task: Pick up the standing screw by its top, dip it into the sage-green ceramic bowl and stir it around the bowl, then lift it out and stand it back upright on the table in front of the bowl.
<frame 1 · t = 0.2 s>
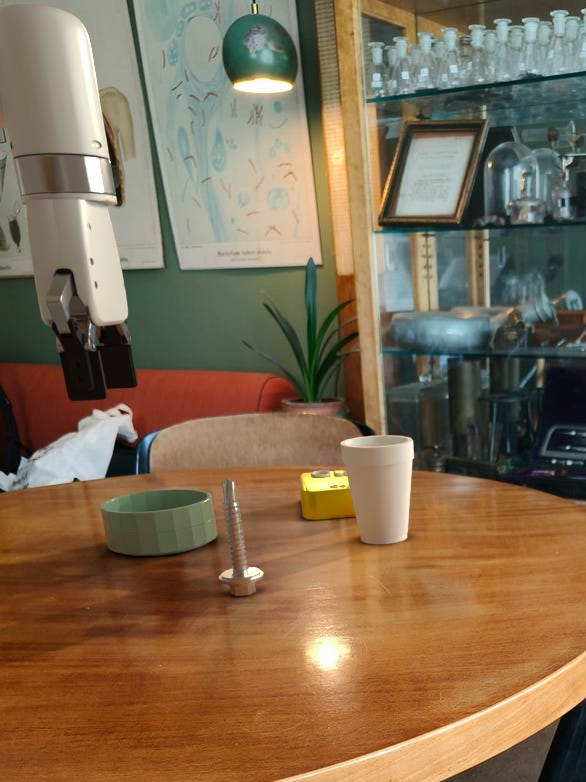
hand: (106, 393, 81), 23 cm above the table, tool pointing down, fingers open, 9 cm apart
foam cup: (384, 539, 120), on the table
bowl: (164, 543, 121), on the table
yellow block: (351, 507, 138), on the table
screw: (243, 594, 100), on the table
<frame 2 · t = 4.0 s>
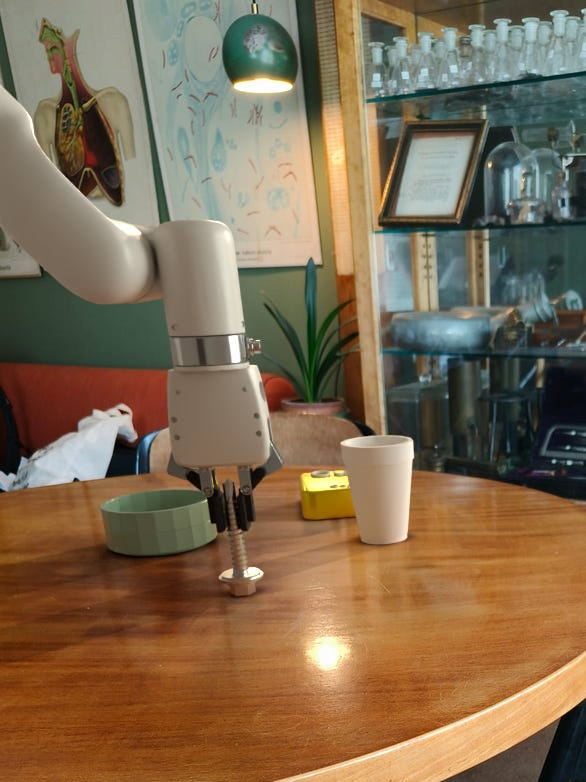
hand: (234, 527, 97), 8 cm above the table, tool pointing down, fingers closed on screw, 2 cm apart
screw: (243, 594, 100), on the table, touching gripper
everything else where it was.
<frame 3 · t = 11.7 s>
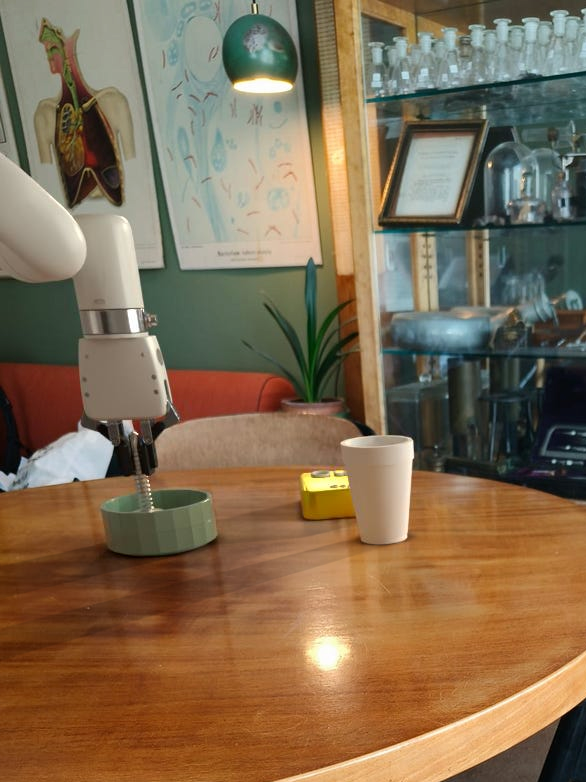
hand: (139, 473, 115), 10 cm above the table, tool pointing down, fingers closed on screw, 2 cm apart
screw: (150, 530, 118), point 2 cm above the table, touching gripper
everything else where it was.
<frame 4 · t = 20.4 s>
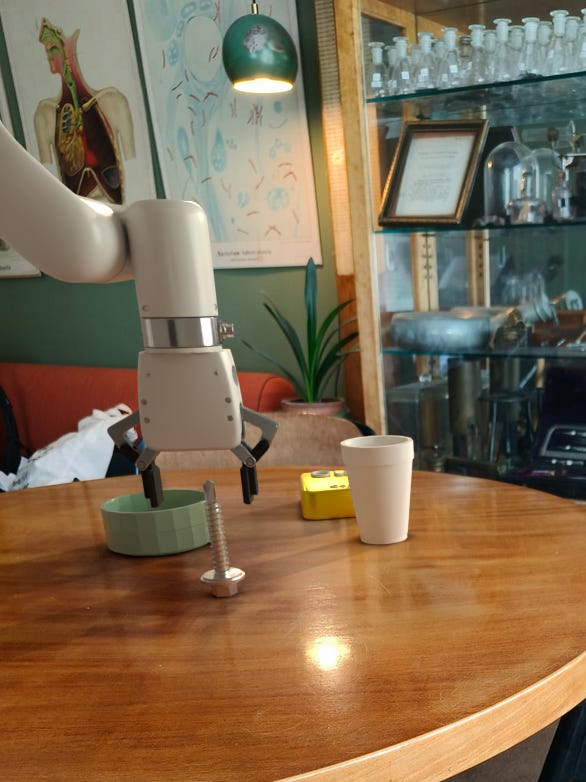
hand: (203, 503, 95), 11 cm above the table, tool pointing down, fingers open, 9 cm apart
screw: (225, 595, 100), on the table
everything else where it was.
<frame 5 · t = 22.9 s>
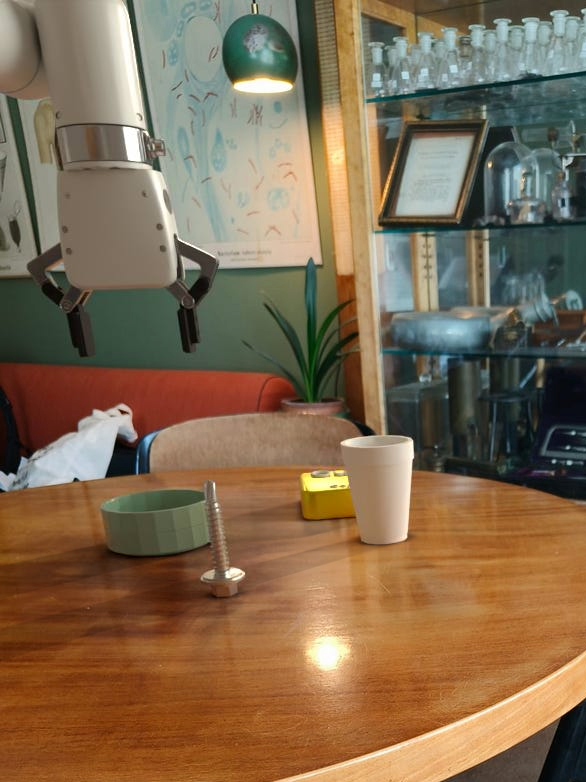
hand: (139, 354, 86), 26 cm above the table, tool pointing down, fingers open, 9 cm apart
nothing on the table moved.
at the end: screw inside the target area on the table beside the bowl (0.1 cm from its centre), on the table; screw tilted 0°; the gripper is holding nothing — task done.
